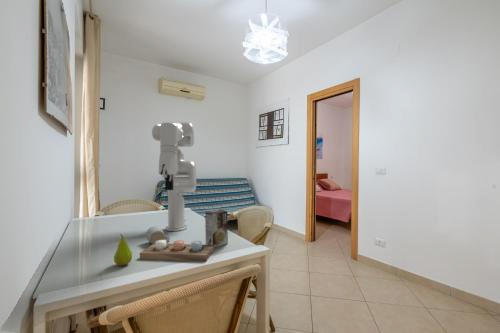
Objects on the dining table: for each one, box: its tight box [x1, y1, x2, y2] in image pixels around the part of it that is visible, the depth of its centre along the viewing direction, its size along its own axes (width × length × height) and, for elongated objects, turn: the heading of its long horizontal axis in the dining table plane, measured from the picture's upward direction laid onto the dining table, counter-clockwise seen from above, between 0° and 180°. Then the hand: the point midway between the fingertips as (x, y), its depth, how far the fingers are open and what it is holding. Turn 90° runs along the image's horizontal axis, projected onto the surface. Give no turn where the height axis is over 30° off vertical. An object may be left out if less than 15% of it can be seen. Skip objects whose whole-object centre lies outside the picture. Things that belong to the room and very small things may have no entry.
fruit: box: [113, 233, 133, 267], centre depth 88 cm, size 6×6×12 cm
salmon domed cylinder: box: [172, 239, 185, 251], centre depth 98 cm, size 4×4×4 cm
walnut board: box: [139, 242, 215, 262], centre depth 98 cm, size 12×28×2 cm, turn 84°
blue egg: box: [190, 240, 203, 252], centre depth 97 cm, size 4×4×4 cm
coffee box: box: [204, 209, 229, 249], centre depth 111 cm, size 9×6×16 cm
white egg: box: [155, 240, 167, 250], centre depth 99 cm, size 4×4×4 cm
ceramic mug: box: [145, 225, 171, 245], centre depth 114 cm, size 11×8×8 cm
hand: (169, 189), depth 105 cm, fingers closed
